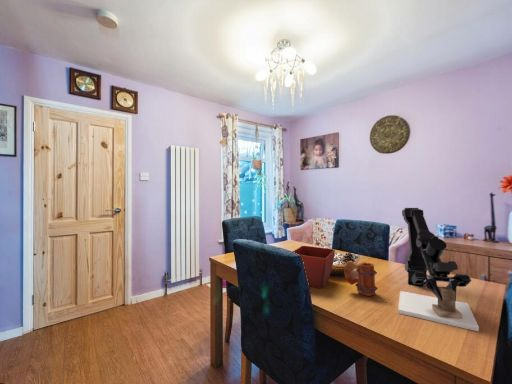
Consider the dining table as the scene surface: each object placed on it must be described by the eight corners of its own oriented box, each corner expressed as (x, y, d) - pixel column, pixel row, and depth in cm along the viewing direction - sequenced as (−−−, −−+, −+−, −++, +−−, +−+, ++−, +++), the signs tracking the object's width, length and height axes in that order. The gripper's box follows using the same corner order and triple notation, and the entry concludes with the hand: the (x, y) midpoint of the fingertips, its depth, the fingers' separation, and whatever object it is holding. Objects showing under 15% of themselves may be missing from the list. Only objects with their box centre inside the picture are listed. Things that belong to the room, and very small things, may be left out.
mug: (376, 291, 116) (375, 260, 116) (378, 298, 109) (378, 265, 109) (344, 287, 121) (343, 258, 121) (344, 294, 114) (343, 263, 113)
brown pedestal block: (440, 317, 90) (439, 291, 90) (432, 309, 96) (431, 285, 96) (461, 318, 88) (461, 293, 88) (452, 310, 94) (452, 286, 94)
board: (398, 313, 96) (398, 309, 96) (400, 294, 113) (400, 290, 113) (478, 331, 83) (478, 327, 83) (467, 306, 100) (467, 303, 100)
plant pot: (326, 292, 116) (325, 258, 116) (289, 285, 126) (289, 253, 126) (336, 279, 132) (335, 249, 132) (302, 273, 142) (302, 245, 142)
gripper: (414, 252, 98) (427, 290, 87) (468, 253, 93) (488, 294, 83) (406, 265, 106) (417, 302, 95) (456, 267, 101) (473, 306, 91)
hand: (448, 301), depth 91 cm, fingers closed on brown pedestal block, 4 cm apart
